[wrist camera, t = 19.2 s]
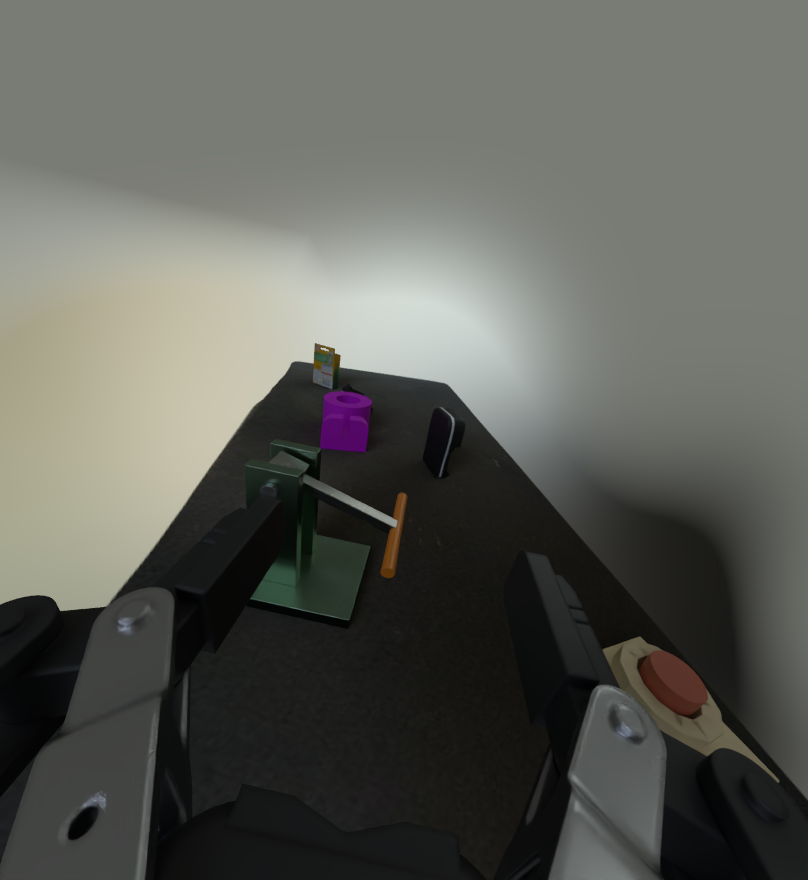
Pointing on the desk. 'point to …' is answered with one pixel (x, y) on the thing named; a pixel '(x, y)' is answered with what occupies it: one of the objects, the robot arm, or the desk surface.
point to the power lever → (355, 509)
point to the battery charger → (443, 439)
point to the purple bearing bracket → (345, 421)
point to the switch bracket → (304, 546)
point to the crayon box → (326, 367)
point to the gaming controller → (349, 389)
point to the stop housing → (692, 730)
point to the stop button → (673, 683)
